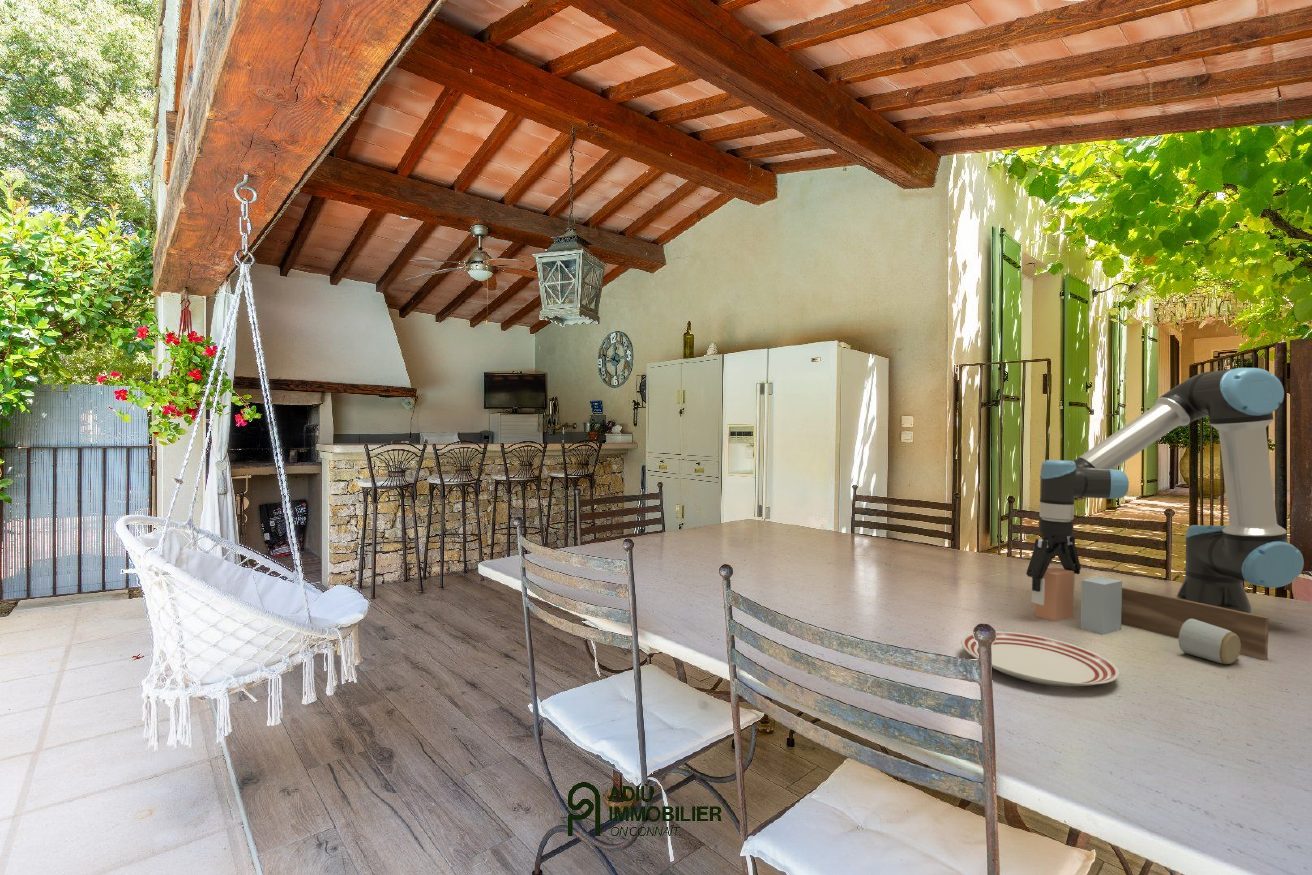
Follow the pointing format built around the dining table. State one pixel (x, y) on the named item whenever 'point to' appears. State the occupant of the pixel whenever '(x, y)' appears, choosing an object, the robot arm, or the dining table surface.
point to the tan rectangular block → (1057, 595)
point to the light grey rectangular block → (1101, 605)
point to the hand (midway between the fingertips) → (1053, 600)
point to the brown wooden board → (1173, 612)
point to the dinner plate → (1045, 660)
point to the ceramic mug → (1209, 642)
